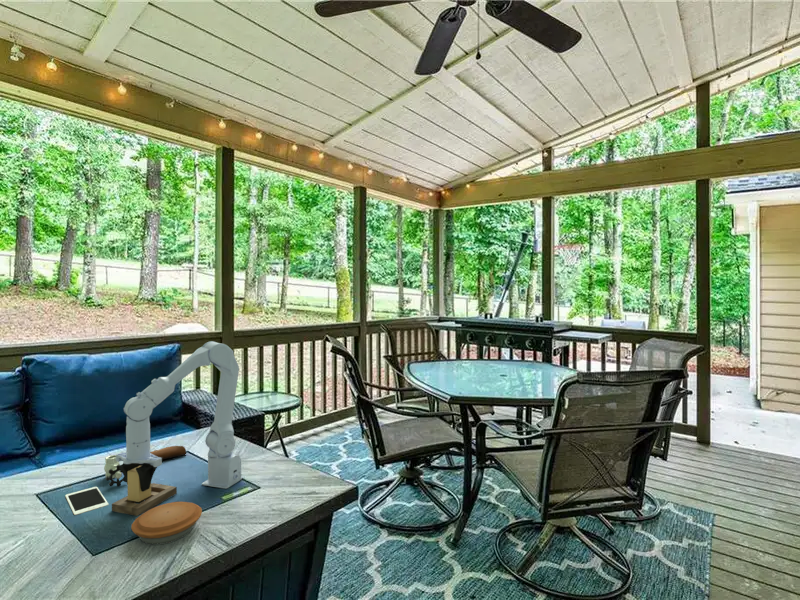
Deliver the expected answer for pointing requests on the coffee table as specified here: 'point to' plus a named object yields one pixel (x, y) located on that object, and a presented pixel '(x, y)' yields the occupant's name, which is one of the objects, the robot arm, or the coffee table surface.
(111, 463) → the valve
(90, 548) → the coffee table surface
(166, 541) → the pie
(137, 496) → the square peg
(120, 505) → the socket block
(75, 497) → the cell phone
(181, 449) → the sunglasses case
